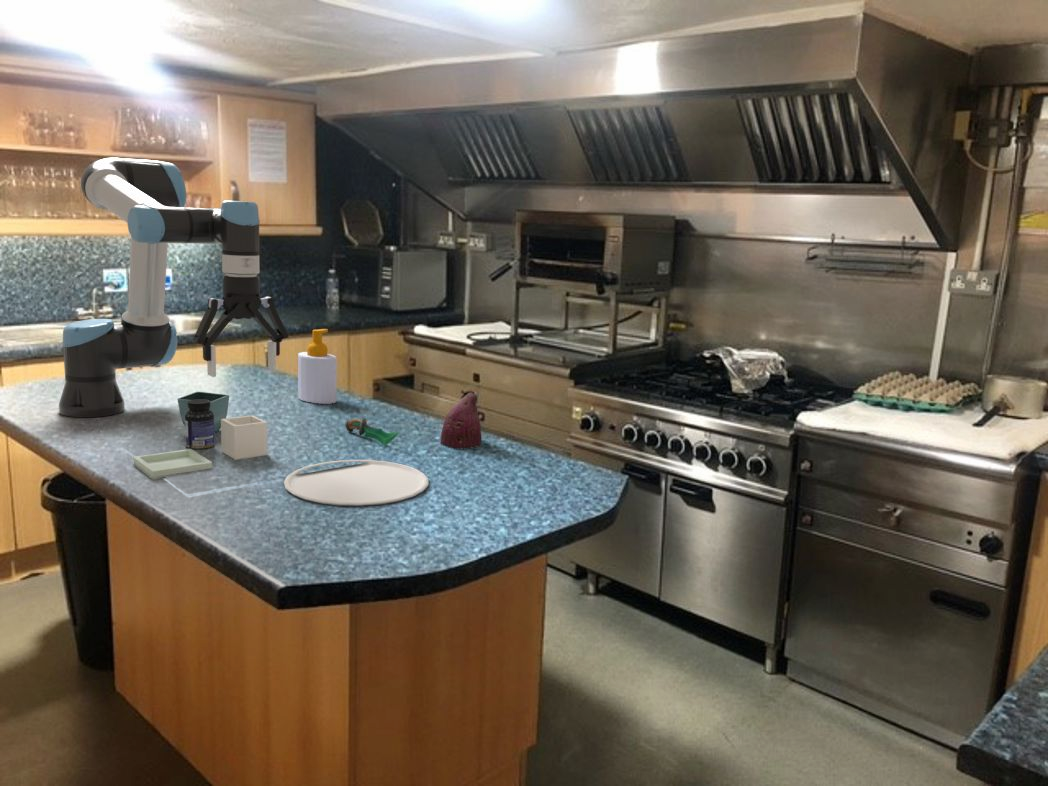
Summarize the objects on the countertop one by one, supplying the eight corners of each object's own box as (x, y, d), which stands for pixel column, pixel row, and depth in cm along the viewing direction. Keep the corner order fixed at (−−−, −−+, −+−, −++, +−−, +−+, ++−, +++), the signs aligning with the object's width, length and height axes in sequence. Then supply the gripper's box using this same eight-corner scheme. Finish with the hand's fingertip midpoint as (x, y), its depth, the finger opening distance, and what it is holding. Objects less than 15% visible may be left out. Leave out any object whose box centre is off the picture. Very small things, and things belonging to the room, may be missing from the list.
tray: (133, 464, 180) (133, 456, 180) (190, 456, 188) (190, 448, 188) (152, 480, 172) (152, 471, 171) (212, 470, 179) (212, 462, 179)
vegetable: (485, 454, 214) (504, 398, 211) (465, 458, 204) (485, 400, 201) (450, 437, 218) (469, 382, 215) (429, 441, 208) (449, 383, 205)
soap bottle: (344, 401, 248) (344, 331, 244) (323, 406, 241) (323, 334, 237) (311, 394, 255) (311, 326, 250) (290, 398, 248) (289, 328, 244)
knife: (343, 432, 215) (343, 413, 214) (349, 431, 217) (349, 412, 216) (396, 451, 201) (396, 430, 200) (402, 450, 202) (402, 429, 201)
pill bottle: (220, 447, 196) (219, 400, 194) (202, 454, 191) (201, 405, 188) (198, 443, 198) (197, 397, 196) (179, 450, 193) (178, 402, 190)
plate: (361, 520, 157) (361, 514, 156) (252, 487, 172) (252, 481, 171) (457, 483, 181) (457, 477, 181) (353, 456, 196) (354, 451, 196)
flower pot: (211, 438, 203) (210, 401, 201) (177, 435, 204) (176, 398, 203) (230, 430, 211) (230, 394, 209) (198, 426, 213) (197, 391, 211)
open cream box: (221, 453, 191) (220, 419, 190) (253, 449, 196) (252, 415, 194) (235, 462, 186) (234, 426, 184) (267, 457, 191) (267, 422, 189)
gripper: (188, 277, 172) (191, 381, 176) (303, 276, 188) (303, 371, 193) (175, 273, 177) (178, 374, 182) (287, 273, 194) (288, 365, 198)
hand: (242, 373), depth 187 cm, fingers open, 13 cm apart
